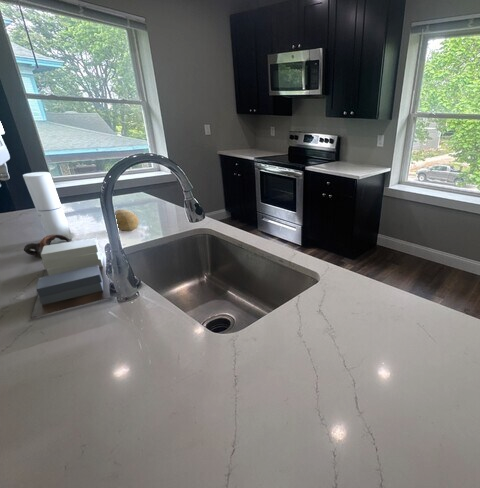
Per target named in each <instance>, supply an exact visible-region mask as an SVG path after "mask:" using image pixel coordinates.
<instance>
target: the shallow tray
mask: <svg viewBox="0 0 480 488" xmlns="http://www.w3.org/2000/svg"><path fill="white" fill-rule="evenodd" d="M105 252H106V251H101V254H102V257H103V266H101V267H99V269H100V272H101V276H102V279H103V291H99V292H95V293H91V294H87V295H83V296H78V297H74V298H70V299H66V300H62V301H58V302H53V303H49V304H45V305H41V302H40V300H39V298H38V297H39V294H38V293H37V296H36V300H35V302H34V306H33V310H32V312H31V316H30V318H31V319H32V318H36V317H40V316H43V315H48V314H51V313H55V312H59V311H63V310H67V309H72V308H76V307H79V306H83V305H87V304H91V303H95V302H99V301H103V300H107V299H110V298H111V292H110V289H111V288H110V277H109V278H108V277H107V276H106V274H105V265H106V256H105ZM45 276H49V274H48V272H47V269H44V274H43V277H45Z"/></svg>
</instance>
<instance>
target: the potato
mask: <svg viewBox="0 0 480 488" xmlns="http://www.w3.org/2000/svg"><path fill="white" fill-rule="evenodd" d="M114 212H115V215H116V219H117V224H118V228H119V230H118V231H121V232H133V231H135V230H136V229H137V228H138V226H139V225H140V221H139V217H138V216H137V215H136V213H134V212H132V211H130V210H128V209H121V208H120V209H116V210H115V211H114Z"/></svg>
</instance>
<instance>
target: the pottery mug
mask: <svg viewBox="0 0 480 488" xmlns="http://www.w3.org/2000/svg"><path fill="white" fill-rule="evenodd" d="M55 238H59V239H60V240H66V241H65V242H72V240H71V239H69V238H67V237H65V236H63V235H49V236H46V235H45V237H43V238H42V239H41V240H40V241H39V242H35V243H31V242H30V243H28V244H26V245H24V247H23V252H25V253H26V254H27V255H29V256H35V257H41V252H42V250H43V247H44V246H47V245H51V244H52V243H51V241H52V240H54V239H55Z"/></svg>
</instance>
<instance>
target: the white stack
mask: <svg viewBox="0 0 480 488" xmlns="http://www.w3.org/2000/svg"><path fill="white" fill-rule="evenodd" d="M101 253H102V251H101V249H100V246H99V245H98V252H96V253H90V254H85V255H79V256H74V257H68V258H63V259H57V260H52V261H46V262H44V261H43V260H42V261H41V263H42V266H43V268H44V270H46V269H47V272H48V274H49V276H50V275H54V274H59V273H63V272H68V271H72V270H77V269H82V268H86V267H91V266H95V265H98V266H99V267H101V266H103V257H102V254H101Z"/></svg>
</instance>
